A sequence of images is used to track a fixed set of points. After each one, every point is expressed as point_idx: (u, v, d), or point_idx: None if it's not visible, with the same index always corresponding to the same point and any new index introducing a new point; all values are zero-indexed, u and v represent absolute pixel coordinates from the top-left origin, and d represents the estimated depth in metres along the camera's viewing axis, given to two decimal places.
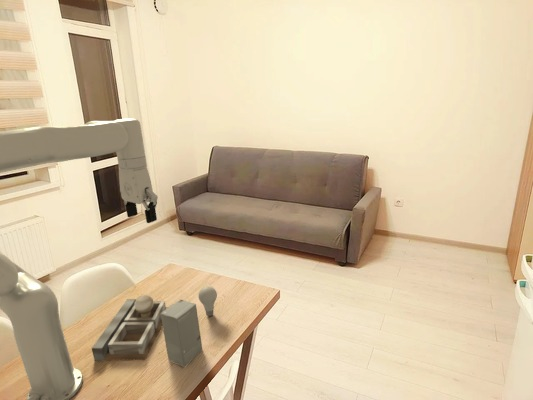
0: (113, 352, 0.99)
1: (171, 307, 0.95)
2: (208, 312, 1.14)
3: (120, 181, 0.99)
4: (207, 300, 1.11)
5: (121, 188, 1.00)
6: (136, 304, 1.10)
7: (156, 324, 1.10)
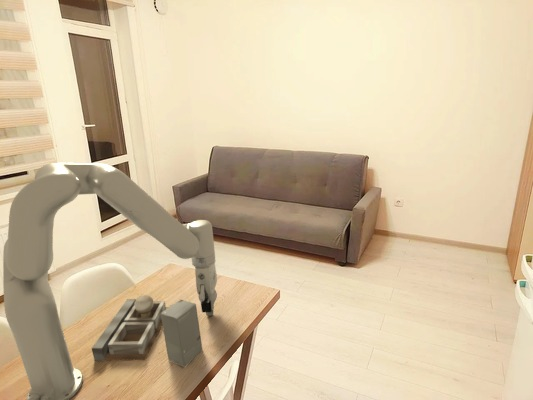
0: (113, 352, 0.99)
1: (171, 307, 0.95)
2: (208, 312, 1.14)
3: (210, 278, 1.07)
4: None
5: (211, 284, 1.08)
6: (136, 304, 1.10)
7: (156, 324, 1.10)
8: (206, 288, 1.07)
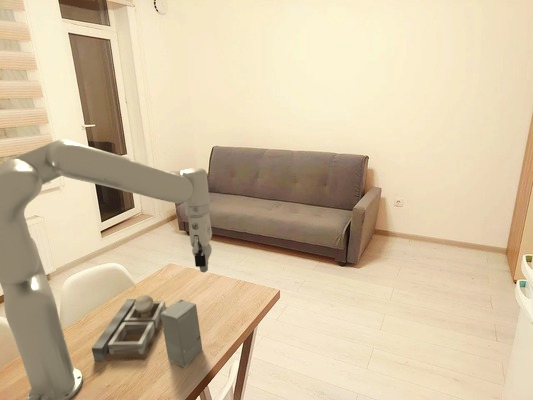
0: (113, 352, 0.99)
1: (171, 307, 0.95)
2: (202, 268, 1.09)
3: (205, 228, 1.02)
4: None
5: (205, 235, 1.03)
6: (136, 304, 1.10)
7: (156, 324, 1.10)
8: (200, 239, 1.02)
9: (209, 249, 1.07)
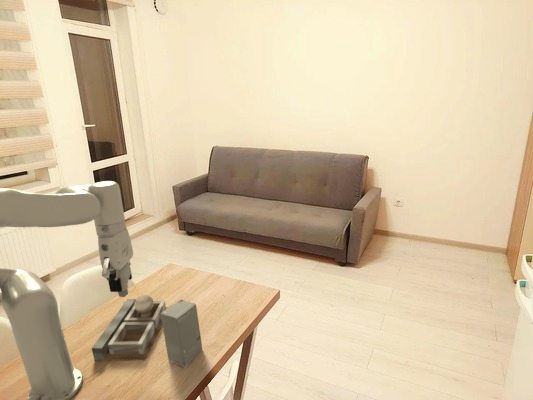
0: (113, 352, 0.99)
1: (171, 307, 0.95)
2: (120, 292, 0.97)
3: (117, 250, 0.90)
4: None
5: (118, 257, 0.91)
6: (136, 304, 1.10)
7: (156, 324, 1.10)
8: (111, 262, 0.90)
9: (126, 272, 0.95)
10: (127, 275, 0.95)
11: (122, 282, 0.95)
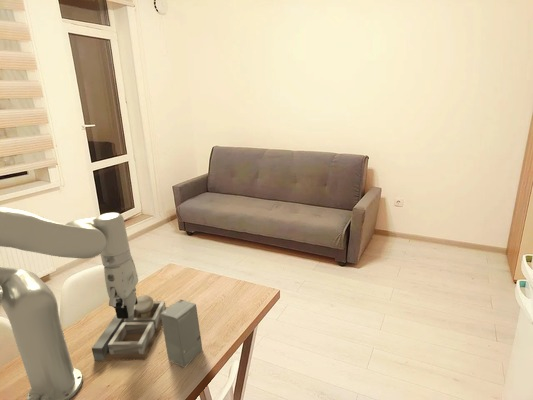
0: (113, 352, 0.99)
1: (171, 307, 0.95)
2: (127, 318, 1.00)
3: (123, 279, 0.93)
4: None
5: (124, 286, 0.94)
6: (136, 304, 1.10)
7: (156, 324, 1.10)
8: (117, 291, 0.93)
9: (132, 298, 0.98)
10: (133, 302, 0.98)
11: (128, 309, 0.98)
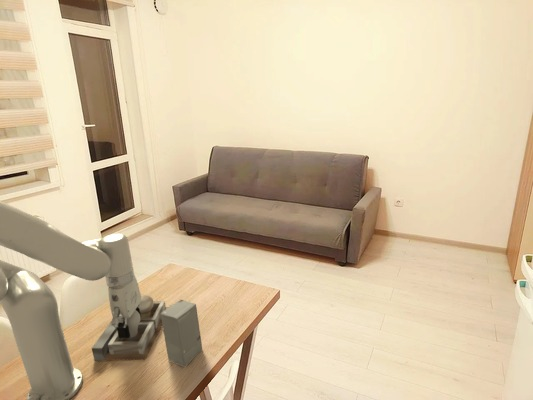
0: (113, 352, 0.99)
1: (171, 307, 0.95)
2: (130, 338, 1.02)
3: (126, 299, 0.95)
4: None
5: (128, 306, 0.96)
6: None
7: (156, 324, 1.10)
8: (121, 311, 0.95)
9: (136, 319, 1.01)
10: (137, 322, 1.01)
11: (132, 329, 1.01)
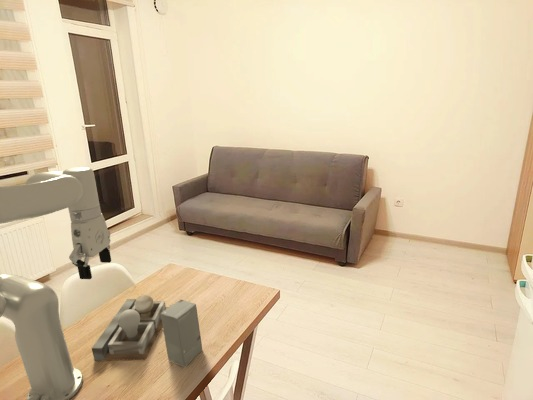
0: (113, 352, 0.99)
1: (171, 307, 0.95)
2: (130, 338, 1.02)
3: (90, 236, 0.90)
4: (127, 326, 0.99)
5: (91, 244, 0.90)
6: (136, 304, 1.10)
7: (156, 324, 1.10)
8: (83, 248, 0.89)
9: (136, 320, 1.00)
10: (137, 323, 1.01)
11: (132, 329, 1.01)
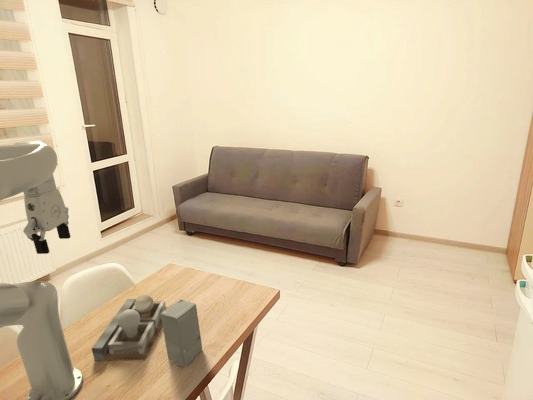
0: (113, 352, 0.99)
1: (171, 307, 0.95)
2: (130, 338, 1.02)
3: (45, 210, 0.89)
4: (127, 326, 0.99)
5: (47, 217, 0.90)
6: (136, 304, 1.10)
7: (156, 324, 1.10)
8: (38, 222, 0.89)
9: (136, 320, 1.00)
10: (137, 323, 1.01)
11: (132, 329, 1.01)
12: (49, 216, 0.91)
